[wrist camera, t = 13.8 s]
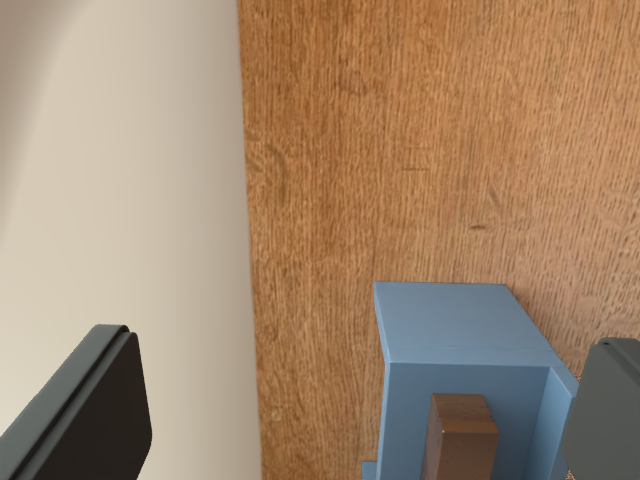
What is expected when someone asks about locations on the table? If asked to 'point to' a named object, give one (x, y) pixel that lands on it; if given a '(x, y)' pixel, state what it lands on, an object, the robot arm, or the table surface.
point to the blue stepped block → (469, 376)
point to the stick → (459, 438)
